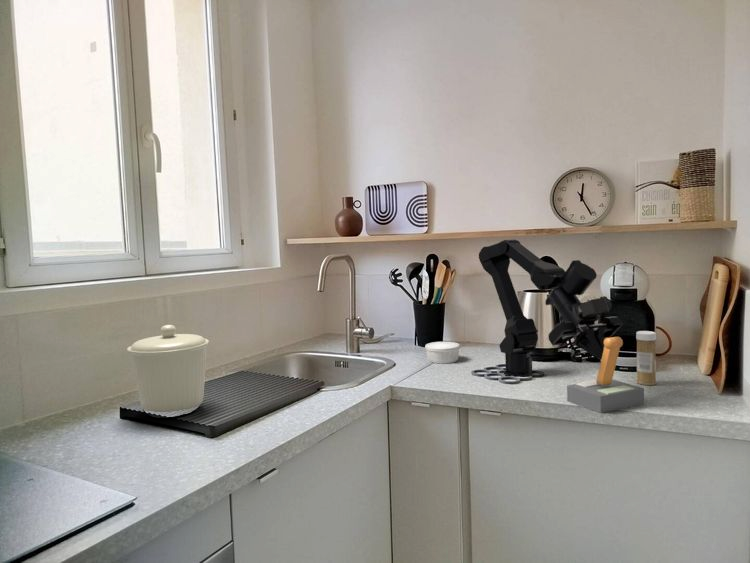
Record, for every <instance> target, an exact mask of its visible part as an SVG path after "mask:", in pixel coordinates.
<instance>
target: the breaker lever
mask: <svg viewBox="0 0 750 563" xmlns="http://www.w3.org/2000/svg"><path fill="white" fill-rule="evenodd" d="M623 341H624V340H623V339H622V338H621V337H620V336H613V337H610V338H606V339H604V350H603V355H602V359H601V360H600V364H599V368H598V374H597V377H596V379H595V380H596V383H597V385H598V386H604V385H609V384H611V382H612V379H614V374H615V369H616V366H617V361H618V357H619V353H620V350H621V349H620V348H621V347H623V345H624V342H623Z"/></svg>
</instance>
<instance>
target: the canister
mask: <svg viewBox="0 0 750 563" xmlns="http://www.w3.org/2000/svg"><path fill="white" fill-rule="evenodd" d="M159 332H160V335H156V336H150V337H145V338H142V339H139V340H137V341H135V342H134V343H132V345H130V346H128V347H127V348H126V351H127V352H128V353H129V354H130V357H131V363H132V369H133V373H134V374H133V375H134V379H135V383H136V389H137V394H138V398H139V403H140V405H141V406H140V407H141V409H142V408H143V409H145V410H147V411H154V412H171V411H179V410H184V409H189V408H192V407H195V406H197V405H199V404H201V403H202V404H203V401H204V394H205V393H204V392H205V380H206V378H205V377H206V362H207V360H206V359H207V346H208V345H209V344H210V340H209V339H207V338H204V336H201V335H199V334H194V333H193V334H192V333H179V334H178V333H177V327H176V326H175V325H173V324H165V325H163V326H161V328H160V331H159ZM202 404H201V405H202ZM143 409H142V410H143Z"/></svg>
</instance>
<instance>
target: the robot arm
mask: <svg viewBox="0 0 750 563" xmlns="http://www.w3.org/2000/svg"><path fill="white" fill-rule="evenodd" d="M478 259H479V260H478V261H479V262H480V264H481V266H482V269H483V270H484V271H485V272H486V273H487V274H488V275H489V276H490V277H491V278H492V281H493V284H494V287H495V289H496V292H497V296H498V299H499V302H500V305H501V308H502V311H503V314H504V317H505V319H506V323H505V326H504V335H505V337H504V338H503V339H502V341H501V342H500V344H499V349H500V353H503V354H505V355H504V357H505V358H504V359H505V370H504V371H503V372H502V373H503V374H505V375H511V376H519V377H527V376H528V375H530V374H532V373H533V372H534V370H533V357H531V352H536V347H537V344H538V339H539V334H538V332H539V330H538V329H537V327H536V325H535V321H534V319H533V318H531V317H530V318H527V316H525V315H524V313H523V310H522V308H521V307H522V306H521V304H520V301H519V298H518V295H517V292H516V289H515V287H514V284H513V281H512V278H511V276H510V272H509V268H510V263H511V260H512V261H513V262H514V263H516V265H518V266H519V267H521V268H522V270H524V271H526V272H527V273H528V274H529V275H530V281H531V282H532V283H533V285H534V286H535V287H536V289H537V290H539V291H551V290H552V291H551V292H550V293H548V294H546V299H545V306H551V305H553V306H554V307H555V309H556V310H557V312H558V313H559V315H560V316H559V318H558V320H559V321H560V322H557V323H556V324H555V326H554V327H553V328H552V330H551V331H550V332H549V333H548V341H549V342H550V344H551V345H552V346H553V347H555V346H560V345H562V344H563V343H564V339H563V338H566V337H567V338H568V337H572V338H573V341H572V342H571V345H572V346H575V347H578V348H579V349H581V350H584V351H585V352H587V353H589V355H592V356H594V357H595V358H597V359H598V360H600V361H601V359H602V355H603V350H604V340H605V339H606V338H611V337H612V336H613V337H614V335H615V334H616V332H618V331H619V329H620V328H621V327H622V326H623V325H624V323H623V321H622V319H621V318H620V317H619V316H606V317H603V318H602V319H601V321H599V319H600V315H603V314H604V313H609V312H610V310H611V309H612V307H613V304H612V302H611V299H609V298H608V297H607V296H599V298H594V299H590V300H588V301H585V302H582V301H581V300H580V299H579V297H578V296H582V295H583V294H584V293H586V291H587V290H588V288H589V287H590V286H591V285H592V283H593V282H594V281H595V280H596V278H597V272H596V271H595V270H596V269H594V268H592V267H590V265H588V264H586V263H583V262H582V261H581V260H580V259H577V260H576V259H575V260H572V261H571V262H570V264H569V266H568V268H567V269H566V271H565V269H564V268H562V267H560V266H558V265H556V264H554V263H550V262H546V261H544V260H543V259H541V258H540V257H538V256H537V255H535V253H533V252H532V251H531V250H529V249H528V248H527V247H526V246H524V245H523V244H521V242H520V241H519V240H518V239H504V240H502V241H499V242H498V243H494V244H492V245H491V244H490V245H488V246H483V247H481V249H480V250H479V252H478ZM597 321H599V322H598V323H595V322H597Z"/></svg>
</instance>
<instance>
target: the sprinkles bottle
mask: <svg viewBox="0 0 750 563" xmlns="http://www.w3.org/2000/svg"><path fill="white" fill-rule="evenodd" d="M635 334H636V335H635V338H636V383H637V384H640V385H643V386H653V385H656V384H657V379H656V376H657V374H656V371H657V360H656V342H657V333H656V332H655V331H649V330H638V331H636V333H635Z"/></svg>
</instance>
